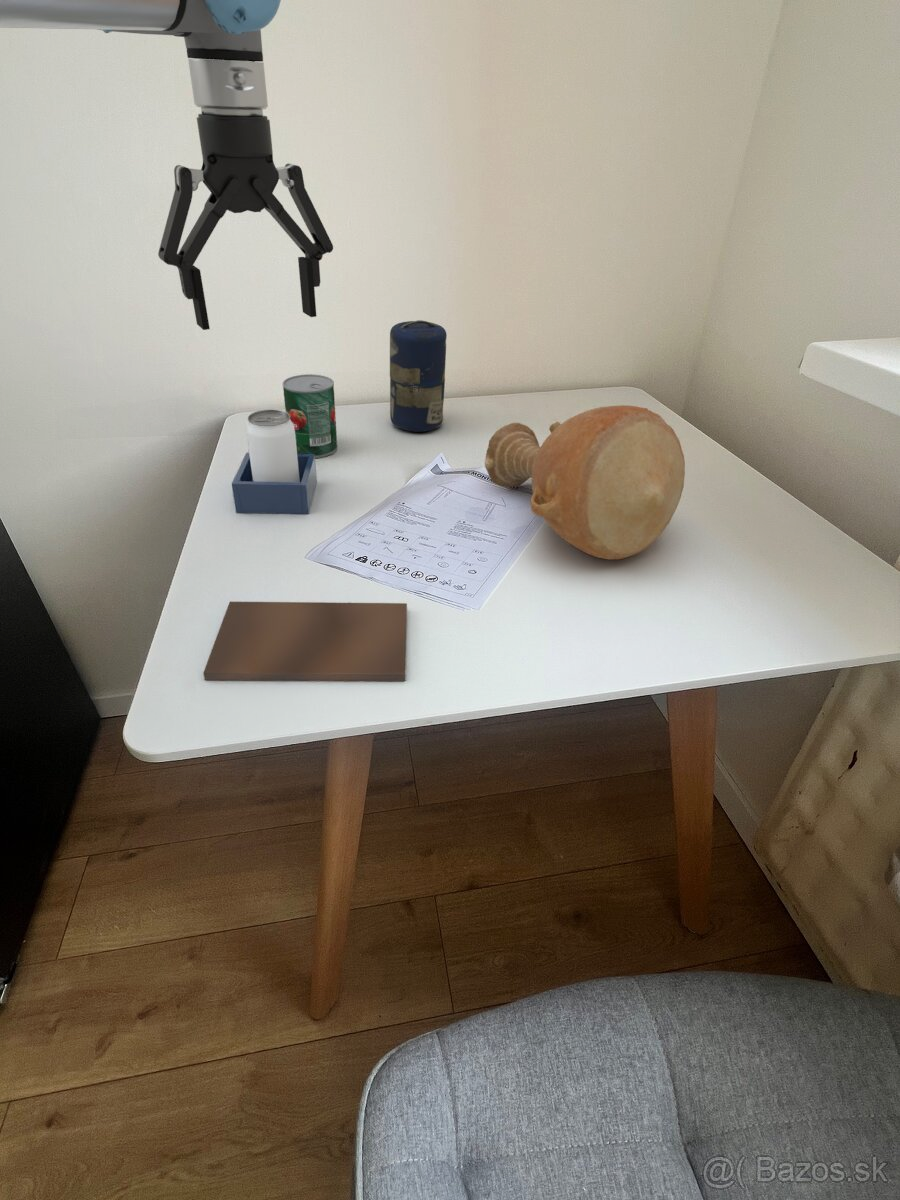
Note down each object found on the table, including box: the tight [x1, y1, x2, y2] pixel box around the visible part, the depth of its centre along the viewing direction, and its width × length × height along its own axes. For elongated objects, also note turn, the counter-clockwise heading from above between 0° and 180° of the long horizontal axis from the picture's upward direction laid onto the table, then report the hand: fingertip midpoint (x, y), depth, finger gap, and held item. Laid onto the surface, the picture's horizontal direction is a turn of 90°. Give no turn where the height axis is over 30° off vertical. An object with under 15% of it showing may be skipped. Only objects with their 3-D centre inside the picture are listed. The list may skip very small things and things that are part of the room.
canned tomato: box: [282, 373, 338, 459], centre depth 112 cm, size 8×8×11 cm
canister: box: [389, 319, 448, 433], centre depth 119 cm, size 10×10×18 cm
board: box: [202, 601, 408, 682], centre depth 75 cm, size 20×12×1 cm, turn 92°
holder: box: [231, 452, 318, 515], centre depth 100 cm, size 10×10×4 cm
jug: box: [484, 404, 686, 560], centre depth 93 cm, size 20×19×30 cm
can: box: [245, 409, 300, 482], centre depth 98 cm, size 6×6×12 cm
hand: (258, 320), depth 87 cm, fingers open, 13 cm apart
